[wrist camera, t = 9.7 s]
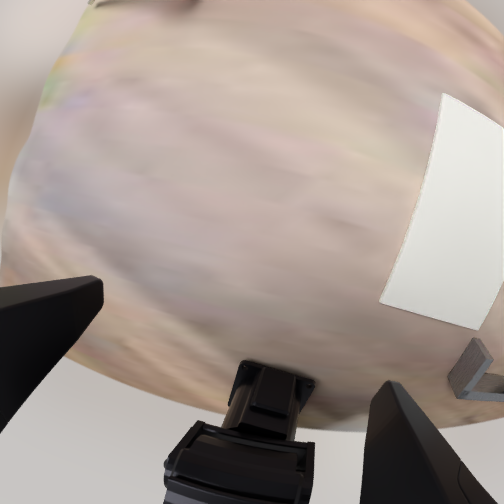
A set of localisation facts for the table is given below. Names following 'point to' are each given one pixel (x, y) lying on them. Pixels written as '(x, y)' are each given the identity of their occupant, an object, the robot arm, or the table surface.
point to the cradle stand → (476, 375)
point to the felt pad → (455, 224)
